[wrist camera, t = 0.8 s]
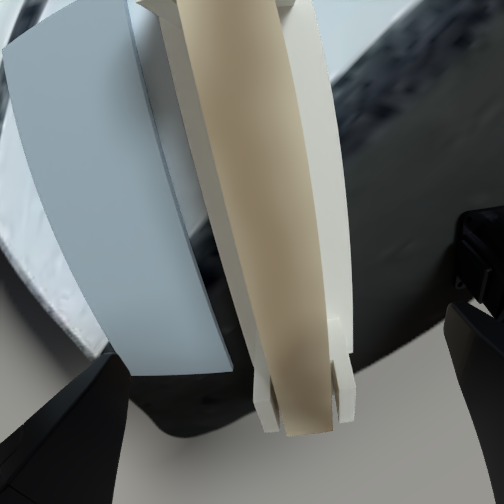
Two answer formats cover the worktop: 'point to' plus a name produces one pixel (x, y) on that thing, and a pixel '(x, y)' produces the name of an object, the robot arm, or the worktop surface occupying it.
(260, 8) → the rail
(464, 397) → the robot arm
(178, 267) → the mat
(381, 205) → the worktop surface
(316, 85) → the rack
